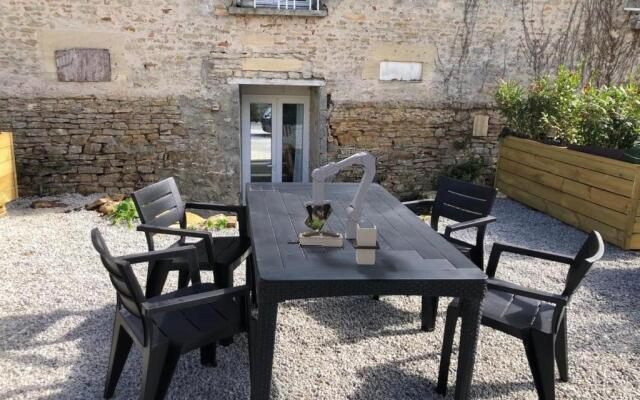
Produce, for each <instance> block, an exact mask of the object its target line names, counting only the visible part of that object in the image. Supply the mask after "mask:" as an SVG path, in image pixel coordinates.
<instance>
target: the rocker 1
mask: <svg viewBox="0 0 640 400" xmlns="http://www.w3.org/2000/svg"><path fill="white" fill-rule="evenodd" d="M320 234H321V231H320V232H319V229H317V230H313V231H312V230H309V231H304V232H303V237H311V236H315V235H320Z"/></svg>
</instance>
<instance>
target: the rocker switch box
mask: <svg viewBox="0 0 640 400" xmlns="http://www.w3.org/2000/svg"><path fill="white" fill-rule="evenodd" d="M303 233H304V232H303ZM303 233H299V240H298V239H296V240H295V239H287V242H288V241H297V242H300V243H299V245H300V244H305V245H322V246H321V247H339V248H340V247H343V234H342V233H339V237H330V236H326V235H323V233H320V235H315V236H311V237H303Z"/></svg>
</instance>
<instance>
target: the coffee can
mask: <svg viewBox="0 0 640 400" xmlns="http://www.w3.org/2000/svg"><path fill="white" fill-rule="evenodd" d="M312 208H313V212H312V220H310V219H309V214H308V213H307V216H306V218H305V219H304V220H303V222H302V223H303V225H304V226H305V227H306V228H307V229H308V230H309V231H313V230H317V229H319V232H320V233H321V231H322V229H323V227H324V226H325V224H326V222H327V220H328V218H329V217H330V215H331V214H332V212H333V210H334V209H333V208H332V207H331V208H330V210H329V212H328V214H327V218H326V219H324V209H323V205H316V206H312Z"/></svg>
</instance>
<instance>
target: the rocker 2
mask: <svg viewBox="0 0 640 400" xmlns="http://www.w3.org/2000/svg"><path fill="white" fill-rule="evenodd" d="M322 229H323V230H322V234H323V235H326V236H330V237H339V234H340V232H335V231H331V230H328V229H324V228H322Z"/></svg>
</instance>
